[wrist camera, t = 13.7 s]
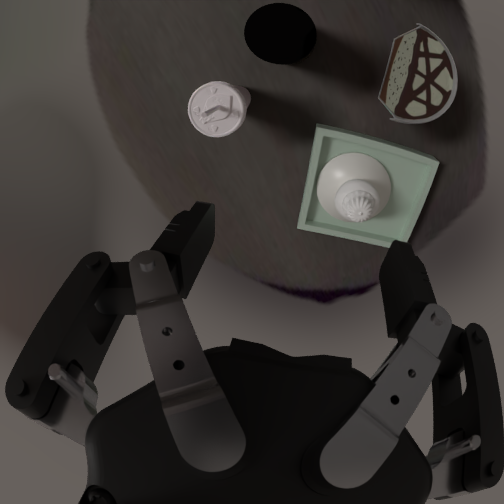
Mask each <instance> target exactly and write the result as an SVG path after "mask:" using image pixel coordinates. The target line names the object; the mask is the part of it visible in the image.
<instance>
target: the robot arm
mask: <svg viewBox="0 0 504 504" xmlns="http://www.w3.org/2000/svg"><path fill="white" fill-rule="evenodd" d="M214 236H215V206H214V204H213V203H207V202H200V201H197V202H196V203H195V204H194V205H193V207H192V208H191V210H190V211H186V210H184V211H182V212H180V213H179V214H177V215H176V216H175V217H174V218H173V219H172V220H171V222H170V224H169V225H168V226H167V227H166V228H165V230H164V231H163V233H162V234H161V235H160V237H159V238H158V239H157V241H156V242H155V244H154V245H153V246H152V248H151V249H150V250H146V251H142V252H139V253H138V254H136V255H135V256H133V257H132V259H131V260H130V262H111V260H110V258H109V256H108V254H106V253H104V252H93V253H90V254H88V255H86V256H85V257H83V258H82V259H81V260H80V262H79V263H78V264H77V266H76V267H75V268H74V270H73V271H72V272H71V274H70V275H69V277H68V278H67V279H66V281H65V282H64V284H63V285H62V287H61V288H60V289H59V291H58V292H57V294H56V295H55V297H54V298H53V300H52V301H51V303H50V304H49V306H48V307H47V309H46V311H45V312H44V314H43V315H42V317H41V319H40V320H39V322H38V323H37V325H36V327H35V329H34V330H33V332H32V334H31V335H30V337H29V339H28V341H27V343H26V344H25V346H24V348H23V350H22V351H21V353H20V355H19V357H18V359H17V361H16V363H15V365H14V367H13V369H12V371H11V373H10V375H9V377H8V379H7V382H6V387H5V393H6V397H7V400H8V402H9V403H10V404H11V406H13V407H14V408H15V409H17V410H19V411H20V412H22V413H23V414H25V416H27V417H28V418H30V419H31V420H33V421H34V422H36V423H38V424H40V425H41V426H43V427H45V428H47V429H50V430H52V431H54V432H56V433H58V434H61V435H64V436H66V437H68V438H70V439H72V440H74V441H75V442H77V443H79V444H81V445H83V446H85V449H86V455H87V464H88V478H87V485H86V489H85V491H84V494H83V495H82V497H81V499H80V501H79V503H78V504H425V502H426V500H427V499H432V498H434V499H436V500H441V499H447V498H452V497H457V496H461V495H465V494H469V493H473V492H477V491H480V490H483V489H487V488H490V487H493V486H494V485H496V484H497V482H498V481H499V480H500V478H501V476H502V473H503V470H504V429H503V416H502V407H501V398H500V391H499V385H498V379H497V373H496V369H495V363H494V359H493V354H492V350H491V346H490V343H489V338H488V336H487V333H486V332H485V330H484V329H483V328H482V327H481V326H480V325H478V324H476V323H470V324H469V325H468V326H467V327H466V328H465V330H464V329H462V328H460V327H458V326H455V325H454V324H452V320H451V317H450V315H449V313H448V312H447V311H446V310H445V309H444V308H443V307H441V306H440V305H438V304H437V303H436V299H435V296H434V293H433V290H432V287H431V284H430V282H429V278H428V275H427V272H426V269H425V267H424V264H423V263H422V262H421V260H420V259H419V258H418V256H415V254H414V252H413V249H412V246H411V244H410V243H407V242H403V241H399V240H394V241H393V242H392V244H391V246H390V248H389V250H388V252H387V255H386V257H385V259H384V261H383V263H382V265H381V268H380V272H379V280H380V286H381V292H382V298H383V303H384V311H385V318H386V325H387V333H388V337H389V338H397V339H398V343H397V344H396V345H395V346H394V348H393V349H392V351H391V352H390V353H389V355H388V356H387V358H386V359H385V360H384V362H383V363H382V364H381V366H380V367H379V368H378V370H377V371H376V372H375V374H374V375H373V376H372V377H371V378H369V377H367V376H366V375H365V374H363V373H362V372H360V371H358V370H357V369H355V368H352V359H351V358H344V357H336V356H329V355H316V356H302V357H292V356H289V355H286V354H284V353H282V352H279V351H277V350H275V349H272V348H270V347H268V346H266V345H263V344H259V343H254V342H250V341H245V340H240V339H236V338H232V341H231V344H230V346H221V347H215V348H211V349H207V350H204V351H203V350H202V347H201V345H200V342H199V340H198V338H197V335H196V333H195V330H194V328H193V326H192V323H191V321H190V318H189V315H188V313H187V310H186V308H185V305H184V303H183V300H182V298H184V299H186V298H187V296H188V294H189V292H190V290H191V288H192V286H193V284H194V282H195V279H196V277H197V275H198V273H199V271H200V269H201V267H202V265H203V263H204V261H205V259H206V257H207V255H208V253H209V251H210V249H211V247H212V244H213V241H214ZM125 315H137V318H138V322H139V326H140V330H141V334H142V338H143V342H144V346H145V350H146V353H147V357H148V361H149V364H150V367H151V371H152V374H153V377H154V380H153V381H152V382H150V383H148V384H147V385H145V386H143V387H142V388H140V389H138V390H137V391H135V392H133V393H132V394H130V395H128V396H126V397H124V398H122V399H121V400H119V401H117V402H116V403H114V404H112V405H110V406H108V407H106V408H105V409H103V410H101V411H100V412H99V413H98V414H97V410H96V404H97V399H98V391H97V388H96V386H95V384H94V383H93V382H94V380H95V377H96V375H97V373H98V370H99V368H100V366H101V364H102V361H103V359H104V357H105V355H106V353H107V351H108V348H109V346H110V344H111V342H112V340H113V338H114V336H115V334H116V331H117V330H118V328H119V325H120V323H121V321H122V319H123V317H124V316H125ZM463 370H465V375H466V382H467V386H466V390H465V392H464V394H463V395H462V389H461V380H460V373H461V372H462V371H463ZM431 381H432V392H433V421H434V423H433V425H434V426H433V429H434V430H433V445H432V447H431V448H430V450H429V453H428V455H427V456H424V454H423V453H422V451H421V450H420V448H419V447H418V445H417V444H416V442H415V441H414V439H413V438H412V436H411V435H410V433H409V432H408V430H407V429H406V428H405V426H406V424H407V422H408V421H409V419H410V418H411V416H412V415H413V413H414V411H415V410H416V408H417V406H418V404H419V403H420V401H421V399H422V397H423V396H424V394H425V392H426V390H427V389H428V387H429V385H430V383H431Z"/></svg>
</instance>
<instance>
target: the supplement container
mask: <svg viewBox="0 0 504 504" xmlns="http://www.w3.org/2000/svg"><path fill="white" fill-rule="evenodd" d="M244 36H245V40H246V43H247V45H248V47H249V49H250V50H251V51H252V52H253V53H254V54H255V55H256V56H257V57H259V58H260V59H262V60H264V61H267V62H270V63H274V64H296V63H299V62H302V61H304V60H305V59H307V58H308V57H309V56H310V55H311V53H312V52H313V50H314V46H315V43H316V28H315V25H314V23H313V21H312V19H311V18H310V16H309V15H308V14H307V13H306V12H304V11H303V10H302V9H300V8H298V7H296V6H293V5H290V4H285V3H273V4H268V5H265V6H263V7H261V8H259V9H257V10H256V11H255V12H254V13H253V14H252V15H251V16H250V17H249V19H248V20H247V22H246V25H245V30H244Z"/></svg>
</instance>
